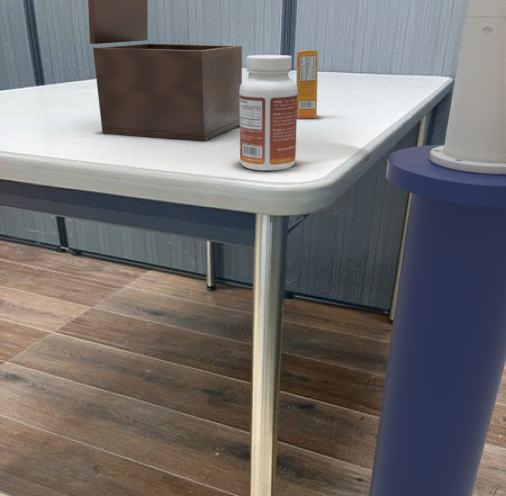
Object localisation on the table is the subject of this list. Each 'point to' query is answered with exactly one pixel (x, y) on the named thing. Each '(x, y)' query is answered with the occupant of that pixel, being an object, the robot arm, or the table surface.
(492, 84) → the robot arm
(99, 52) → the chest
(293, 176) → the table surface
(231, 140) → the table surface
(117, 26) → the lid
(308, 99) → the supplement box
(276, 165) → the pill bottle
